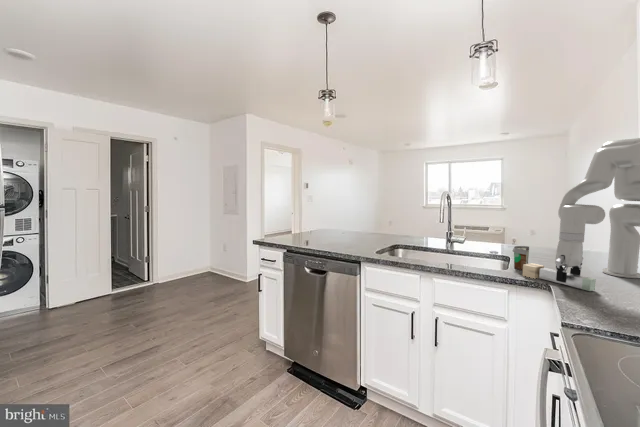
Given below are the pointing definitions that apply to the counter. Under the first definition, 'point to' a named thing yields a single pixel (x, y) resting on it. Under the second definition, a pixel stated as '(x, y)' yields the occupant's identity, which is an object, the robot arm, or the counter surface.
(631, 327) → the counter surface
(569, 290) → the counter surface
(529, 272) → the hinge block
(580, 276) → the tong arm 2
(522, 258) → the food container
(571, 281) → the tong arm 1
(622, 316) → the counter surface
